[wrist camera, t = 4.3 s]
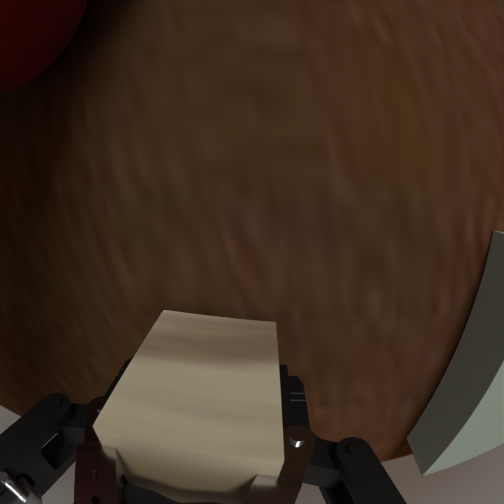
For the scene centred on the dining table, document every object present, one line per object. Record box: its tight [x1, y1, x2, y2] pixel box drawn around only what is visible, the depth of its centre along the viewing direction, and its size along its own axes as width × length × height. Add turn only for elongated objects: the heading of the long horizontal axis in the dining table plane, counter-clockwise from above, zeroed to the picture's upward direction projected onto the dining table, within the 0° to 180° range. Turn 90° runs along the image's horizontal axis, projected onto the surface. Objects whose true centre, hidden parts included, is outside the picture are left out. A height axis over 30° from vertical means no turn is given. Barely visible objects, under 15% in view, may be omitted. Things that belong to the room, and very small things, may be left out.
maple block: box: [93, 310, 284, 504], centre depth 10 cm, size 5×5×7 cm
